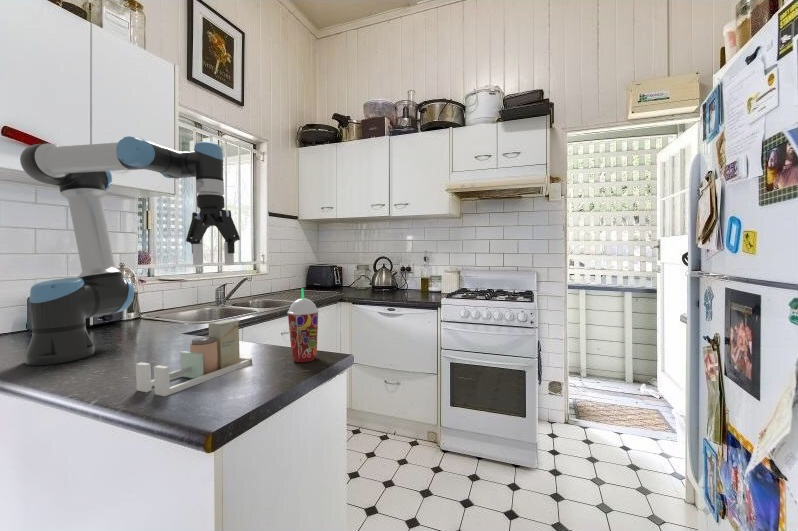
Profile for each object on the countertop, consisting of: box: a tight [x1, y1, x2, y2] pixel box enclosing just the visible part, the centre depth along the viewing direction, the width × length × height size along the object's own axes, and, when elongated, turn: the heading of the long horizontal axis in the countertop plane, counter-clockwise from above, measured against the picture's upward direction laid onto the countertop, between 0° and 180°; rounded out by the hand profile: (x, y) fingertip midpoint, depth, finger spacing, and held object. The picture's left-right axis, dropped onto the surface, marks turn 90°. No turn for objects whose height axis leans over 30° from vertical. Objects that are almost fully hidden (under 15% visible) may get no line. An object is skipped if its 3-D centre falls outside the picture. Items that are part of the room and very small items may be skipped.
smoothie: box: [287, 288, 319, 363], centre depth 102 cm, size 8×8×20 cm
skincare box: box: [207, 319, 241, 370], centre depth 98 cm, size 6×4×12 cm
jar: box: [189, 336, 218, 375], centre depth 92 cm, size 6×6×9 cm
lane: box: [135, 356, 253, 397], centre depth 91 cm, size 10×24×6 cm, turn 156°
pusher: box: [169, 350, 204, 379], centre depth 85 cm, size 7×9×6 cm
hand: (213, 264), depth 113 cm, fingers open, 13 cm apart
